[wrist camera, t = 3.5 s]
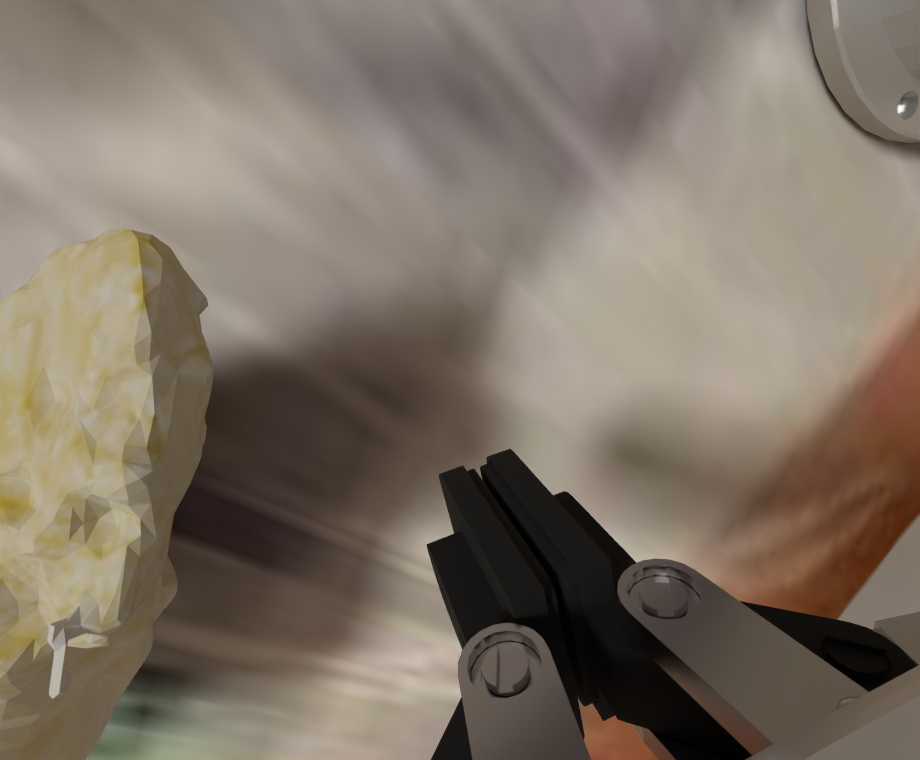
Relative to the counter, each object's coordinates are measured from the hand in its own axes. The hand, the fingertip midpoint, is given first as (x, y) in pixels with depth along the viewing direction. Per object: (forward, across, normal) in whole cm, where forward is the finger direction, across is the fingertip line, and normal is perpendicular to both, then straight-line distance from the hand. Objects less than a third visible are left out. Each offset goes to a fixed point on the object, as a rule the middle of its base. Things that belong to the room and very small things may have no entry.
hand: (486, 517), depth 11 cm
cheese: (+8, +11, -2) cm, 13 cm away
